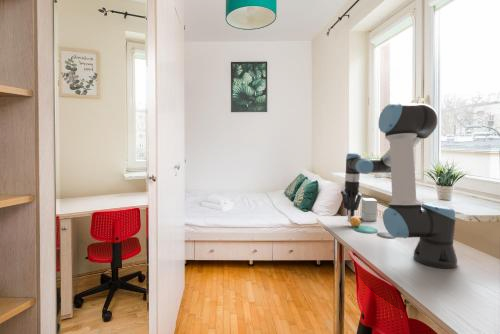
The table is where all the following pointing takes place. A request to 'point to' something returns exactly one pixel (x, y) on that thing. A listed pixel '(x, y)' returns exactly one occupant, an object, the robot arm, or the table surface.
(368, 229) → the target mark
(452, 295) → the table surface
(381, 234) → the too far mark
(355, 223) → the ball
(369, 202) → the supplement box
